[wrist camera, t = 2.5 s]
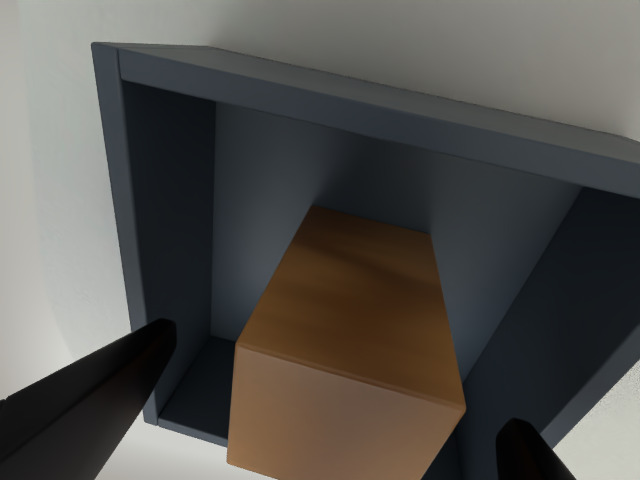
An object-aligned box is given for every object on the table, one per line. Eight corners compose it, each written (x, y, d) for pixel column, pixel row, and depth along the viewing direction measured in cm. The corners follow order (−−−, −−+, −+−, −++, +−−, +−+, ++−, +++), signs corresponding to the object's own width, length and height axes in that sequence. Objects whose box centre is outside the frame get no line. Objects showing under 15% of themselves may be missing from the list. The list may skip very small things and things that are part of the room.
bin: (203, 334, 18) (143, 422, 13) (205, 45, 11) (88, 41, 7) (457, 406, 17) (478, 526, 12) (627, 137, 10) (797, 198, 6)
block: (293, 296, 15) (224, 464, 9) (310, 203, 13) (234, 343, 6) (395, 324, 14) (397, 518, 8) (431, 233, 12) (469, 410, 6)
